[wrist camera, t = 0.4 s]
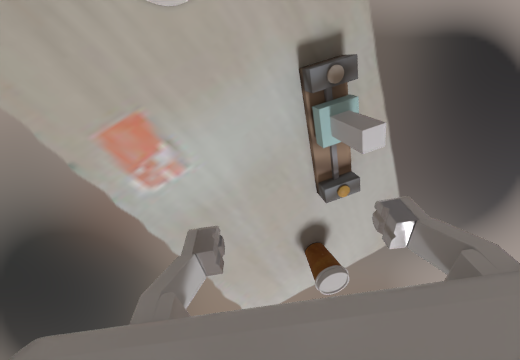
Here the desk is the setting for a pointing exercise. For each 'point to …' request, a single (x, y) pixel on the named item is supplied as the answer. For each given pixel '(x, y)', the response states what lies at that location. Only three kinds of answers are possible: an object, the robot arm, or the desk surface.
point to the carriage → (347, 125)
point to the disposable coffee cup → (326, 269)
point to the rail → (314, 93)
